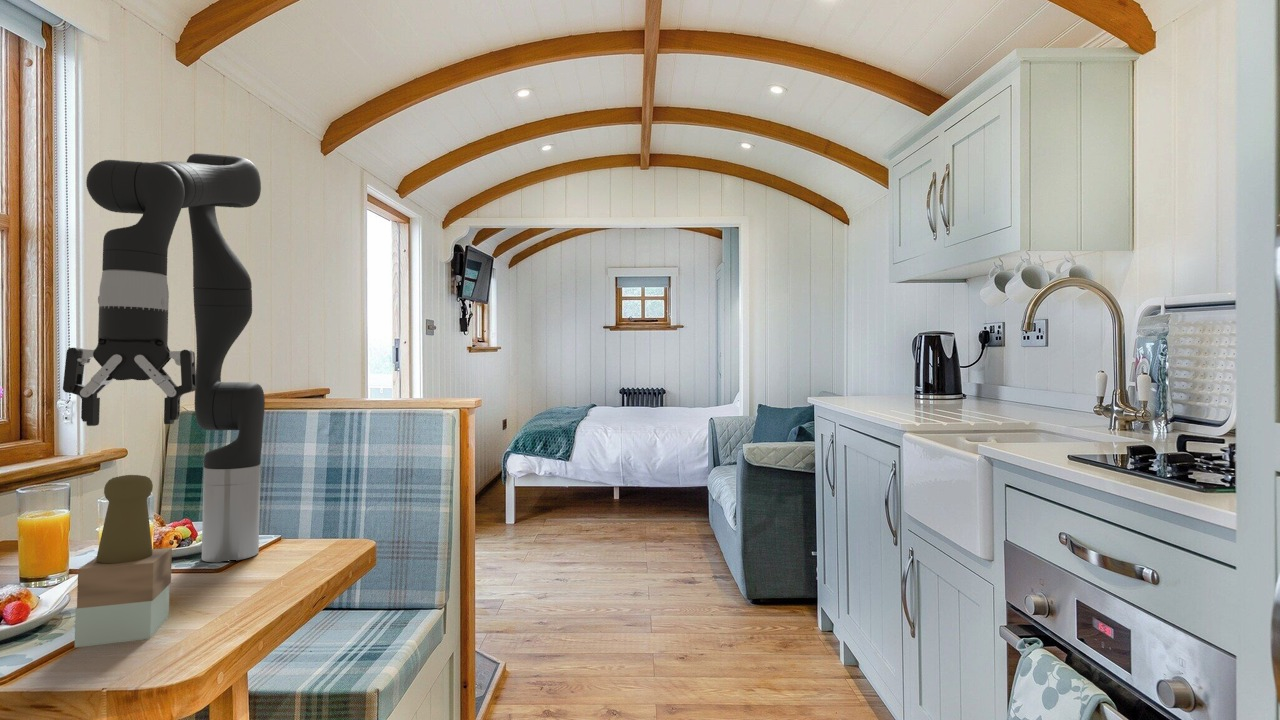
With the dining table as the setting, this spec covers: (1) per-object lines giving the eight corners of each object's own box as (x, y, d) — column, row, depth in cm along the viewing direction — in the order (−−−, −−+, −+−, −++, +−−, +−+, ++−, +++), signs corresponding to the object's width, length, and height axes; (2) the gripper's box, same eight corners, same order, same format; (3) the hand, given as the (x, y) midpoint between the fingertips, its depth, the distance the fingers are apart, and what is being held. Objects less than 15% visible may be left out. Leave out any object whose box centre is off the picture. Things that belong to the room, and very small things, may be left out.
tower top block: (102, 588, 90) (103, 552, 90) (170, 582, 93) (171, 547, 93) (76, 608, 83) (78, 569, 83) (152, 600, 85) (153, 563, 86)
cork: (119, 565, 84) (124, 481, 84) (84, 560, 86) (88, 477, 86) (163, 553, 90) (168, 474, 90) (129, 548, 92) (134, 470, 92)
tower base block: (99, 625, 90) (100, 589, 90) (168, 617, 93) (169, 582, 93) (74, 648, 82) (75, 608, 82) (150, 639, 85) (151, 601, 85)
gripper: (202, 311, 95) (199, 421, 94) (80, 306, 89) (77, 423, 89) (189, 306, 88) (186, 425, 88) (56, 301, 82) (52, 428, 82)
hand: (131, 424), depth 88 cm, fingers open, 8 cm apart
